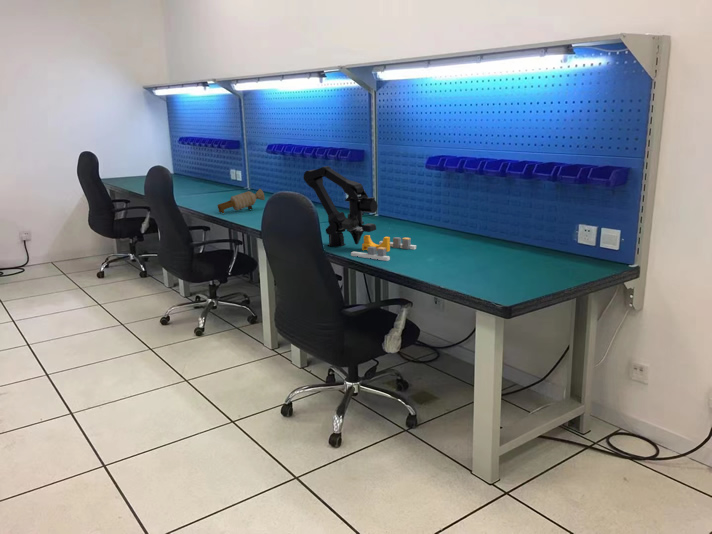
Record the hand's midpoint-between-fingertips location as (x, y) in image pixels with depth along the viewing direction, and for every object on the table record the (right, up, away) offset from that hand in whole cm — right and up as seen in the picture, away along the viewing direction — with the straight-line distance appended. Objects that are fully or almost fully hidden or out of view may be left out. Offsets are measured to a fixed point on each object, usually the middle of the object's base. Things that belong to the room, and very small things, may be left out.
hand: (356, 244), depth 272 cm
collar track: (+12, -4, -8) cm, 15 cm away
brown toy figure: (-75, +26, +110) cm, 135 cm away
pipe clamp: (+9, -3, -4) cm, 10 cm away
